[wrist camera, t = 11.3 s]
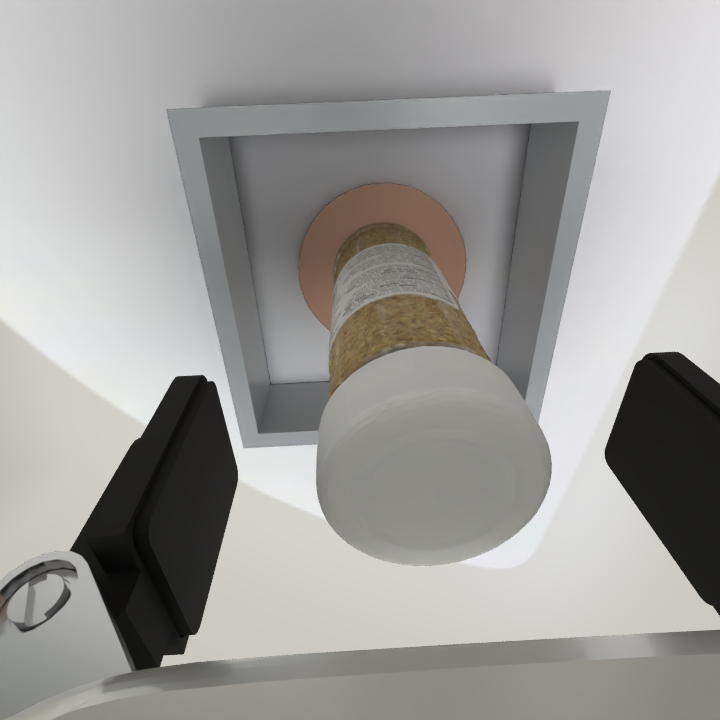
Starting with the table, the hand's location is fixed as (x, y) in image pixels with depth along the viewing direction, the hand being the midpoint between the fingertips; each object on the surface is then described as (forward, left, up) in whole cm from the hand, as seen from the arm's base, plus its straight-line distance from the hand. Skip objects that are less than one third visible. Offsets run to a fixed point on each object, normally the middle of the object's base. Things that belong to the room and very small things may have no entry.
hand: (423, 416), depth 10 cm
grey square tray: (+1, 0, -12) cm, 12 cm away
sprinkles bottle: (0, 0, -11) cm, 11 cm away
